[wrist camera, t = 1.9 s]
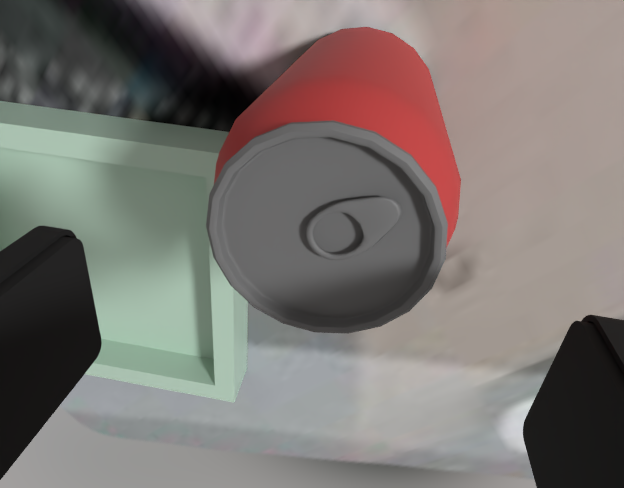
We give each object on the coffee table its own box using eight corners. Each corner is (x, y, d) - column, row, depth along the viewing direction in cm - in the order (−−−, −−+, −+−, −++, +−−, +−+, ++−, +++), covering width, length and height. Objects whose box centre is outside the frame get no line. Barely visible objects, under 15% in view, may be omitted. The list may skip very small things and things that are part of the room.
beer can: (460, 133, 21) (520, 298, 10) (334, 196, 23) (284, 378, 13) (390, -10, 18) (382, 25, 8) (258, 79, 21) (126, 190, 11)
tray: (-56, 93, 24) (-106, 108, 21) (249, 134, 22) (232, 155, 20) (22, 327, 32) (-7, 356, 30) (247, 368, 31) (234, 402, 28)
